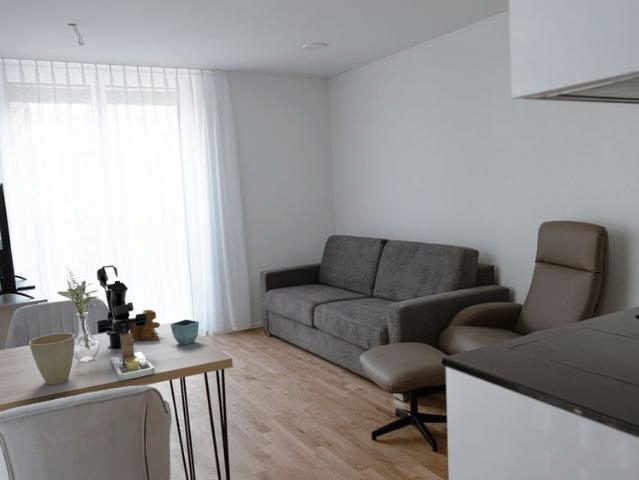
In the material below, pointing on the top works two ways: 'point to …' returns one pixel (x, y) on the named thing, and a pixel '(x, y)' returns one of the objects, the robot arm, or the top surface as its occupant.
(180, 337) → the flower pot
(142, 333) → the stuffed squirrel
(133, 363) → the yellow small block
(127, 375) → the tray
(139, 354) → the slot bed
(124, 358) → the brown block
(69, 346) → the plant pot
